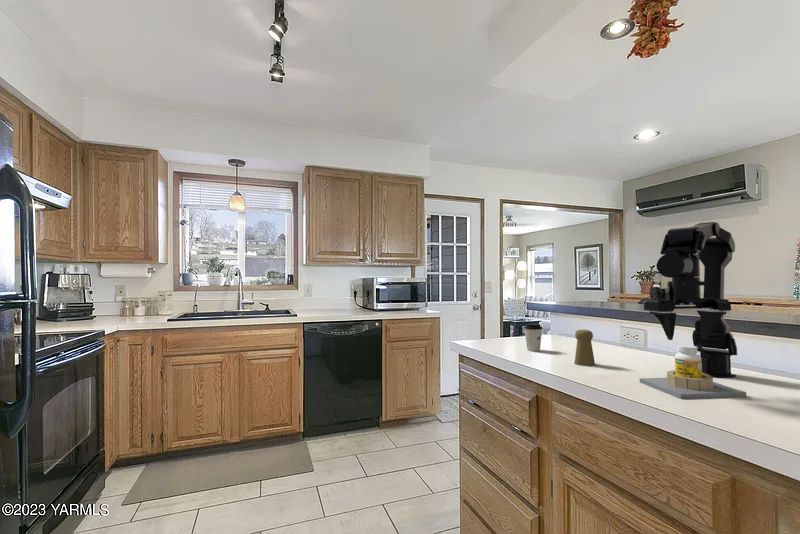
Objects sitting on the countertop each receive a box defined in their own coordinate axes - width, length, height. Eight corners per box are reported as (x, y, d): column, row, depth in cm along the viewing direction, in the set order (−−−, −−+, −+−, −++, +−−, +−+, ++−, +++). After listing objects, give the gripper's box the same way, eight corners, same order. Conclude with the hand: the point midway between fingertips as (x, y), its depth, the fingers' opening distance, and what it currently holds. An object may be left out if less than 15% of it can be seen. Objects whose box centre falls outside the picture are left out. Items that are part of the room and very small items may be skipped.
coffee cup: (522, 351, 147) (521, 324, 147) (526, 348, 153) (526, 322, 153) (541, 352, 143) (540, 325, 144) (545, 349, 149) (544, 323, 150)
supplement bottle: (705, 385, 96) (704, 346, 96) (697, 389, 93) (696, 349, 93) (680, 380, 100) (679, 343, 100) (671, 383, 97) (670, 345, 97)
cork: (574, 365, 123) (573, 330, 123) (574, 361, 129) (573, 328, 129) (596, 366, 121) (595, 331, 121) (594, 362, 126) (593, 329, 127)
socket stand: (696, 380, 104) (696, 367, 104) (746, 396, 90) (745, 381, 90) (639, 382, 103) (639, 368, 103) (680, 398, 89) (680, 383, 89)
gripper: (694, 276, 106) (696, 334, 105) (629, 277, 105) (630, 335, 104) (731, 276, 95) (734, 340, 94) (659, 277, 93) (661, 342, 93)
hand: (687, 339), depth 97 cm, fingers open, 9 cm apart
